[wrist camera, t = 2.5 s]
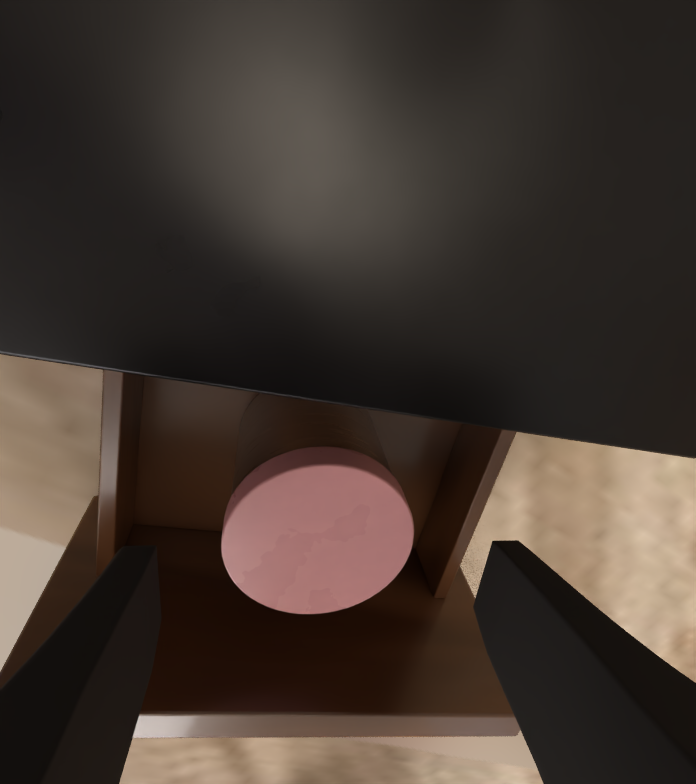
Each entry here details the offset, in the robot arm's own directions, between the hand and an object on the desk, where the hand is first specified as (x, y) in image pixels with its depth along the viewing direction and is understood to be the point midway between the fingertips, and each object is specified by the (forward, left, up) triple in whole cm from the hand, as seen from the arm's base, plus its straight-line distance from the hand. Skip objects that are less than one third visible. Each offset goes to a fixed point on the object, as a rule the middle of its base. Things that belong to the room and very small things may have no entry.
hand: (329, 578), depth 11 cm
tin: (0, 0, -6) cm, 6 cm away
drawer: (-1, -1, -8) cm, 8 cm away
